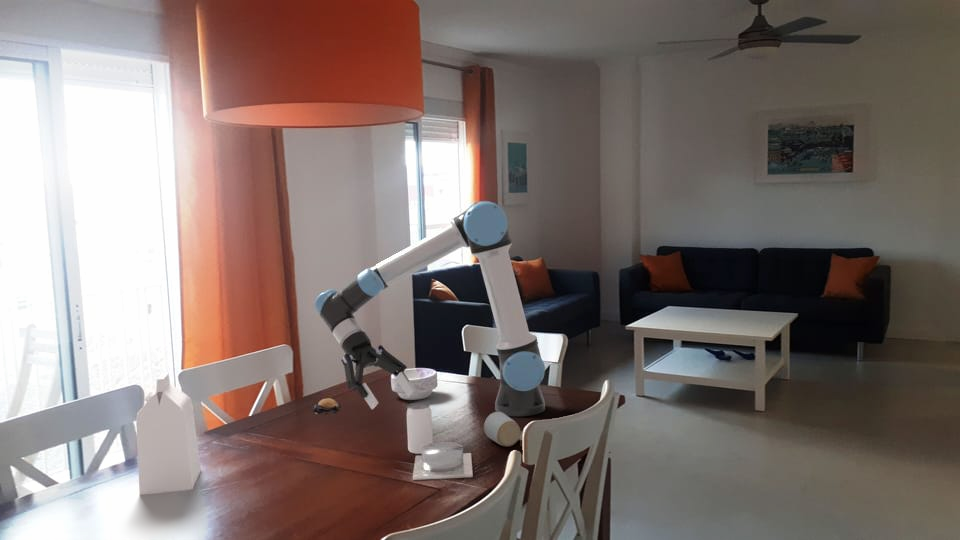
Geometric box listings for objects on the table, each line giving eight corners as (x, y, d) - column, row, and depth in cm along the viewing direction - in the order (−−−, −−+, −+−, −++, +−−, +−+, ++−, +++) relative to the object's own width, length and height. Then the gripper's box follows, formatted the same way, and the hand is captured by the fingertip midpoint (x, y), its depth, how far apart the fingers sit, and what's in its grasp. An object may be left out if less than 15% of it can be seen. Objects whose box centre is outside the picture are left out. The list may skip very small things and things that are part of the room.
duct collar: (471, 456, 188) (470, 437, 188) (472, 477, 174) (471, 457, 174) (415, 458, 188) (414, 440, 187) (412, 480, 174) (411, 460, 173)
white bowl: (382, 398, 244) (381, 375, 243) (413, 388, 256) (412, 365, 255) (416, 405, 235) (415, 381, 234) (447, 394, 247) (446, 370, 246)
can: (438, 449, 194) (436, 404, 193) (420, 456, 189) (418, 410, 188) (421, 444, 198) (419, 400, 197) (403, 451, 193) (400, 406, 192)
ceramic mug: (498, 450, 192) (497, 421, 191) (483, 441, 199) (483, 413, 198) (533, 443, 196) (533, 415, 196) (517, 434, 204) (517, 407, 203)
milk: (192, 489, 173) (183, 380, 170) (139, 495, 171) (129, 384, 168) (200, 470, 185) (192, 368, 182) (151, 475, 182) (142, 372, 180)
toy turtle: (313, 407, 239) (312, 396, 238) (339, 404, 240) (339, 393, 240) (313, 417, 228) (312, 405, 228) (341, 414, 230) (340, 402, 230)
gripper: (378, 339, 216) (418, 396, 209) (310, 355, 197) (352, 420, 189) (390, 322, 212) (432, 380, 205) (322, 337, 193) (365, 402, 185)
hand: (393, 399), depth 197 cm, fingers open, 13 cm apart
